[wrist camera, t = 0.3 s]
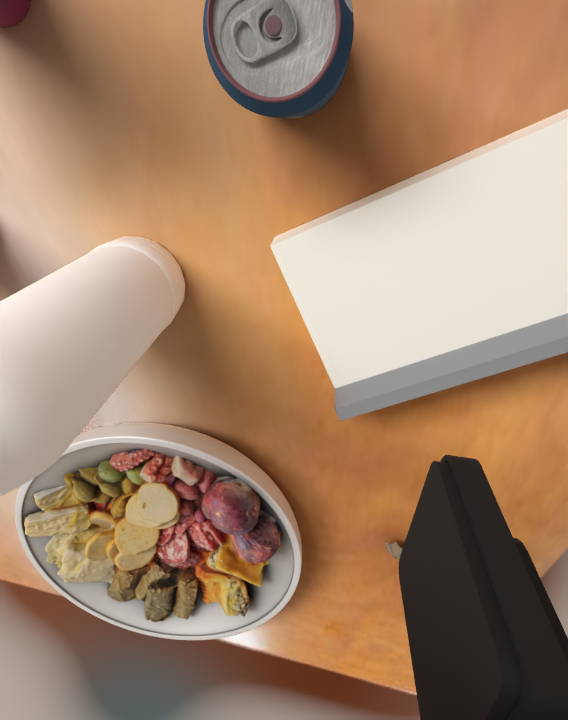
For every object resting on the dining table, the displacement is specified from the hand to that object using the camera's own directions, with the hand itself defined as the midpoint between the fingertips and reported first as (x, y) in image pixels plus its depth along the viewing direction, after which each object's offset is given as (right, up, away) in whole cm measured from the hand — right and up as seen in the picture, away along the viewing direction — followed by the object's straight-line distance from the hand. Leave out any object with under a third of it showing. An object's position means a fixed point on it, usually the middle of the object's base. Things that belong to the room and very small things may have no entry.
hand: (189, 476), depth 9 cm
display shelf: (+15, +10, +26) cm, 31 cm away
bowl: (-11, -15, +43) cm, 47 cm away
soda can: (+3, +22, +21) cm, 31 cm away
